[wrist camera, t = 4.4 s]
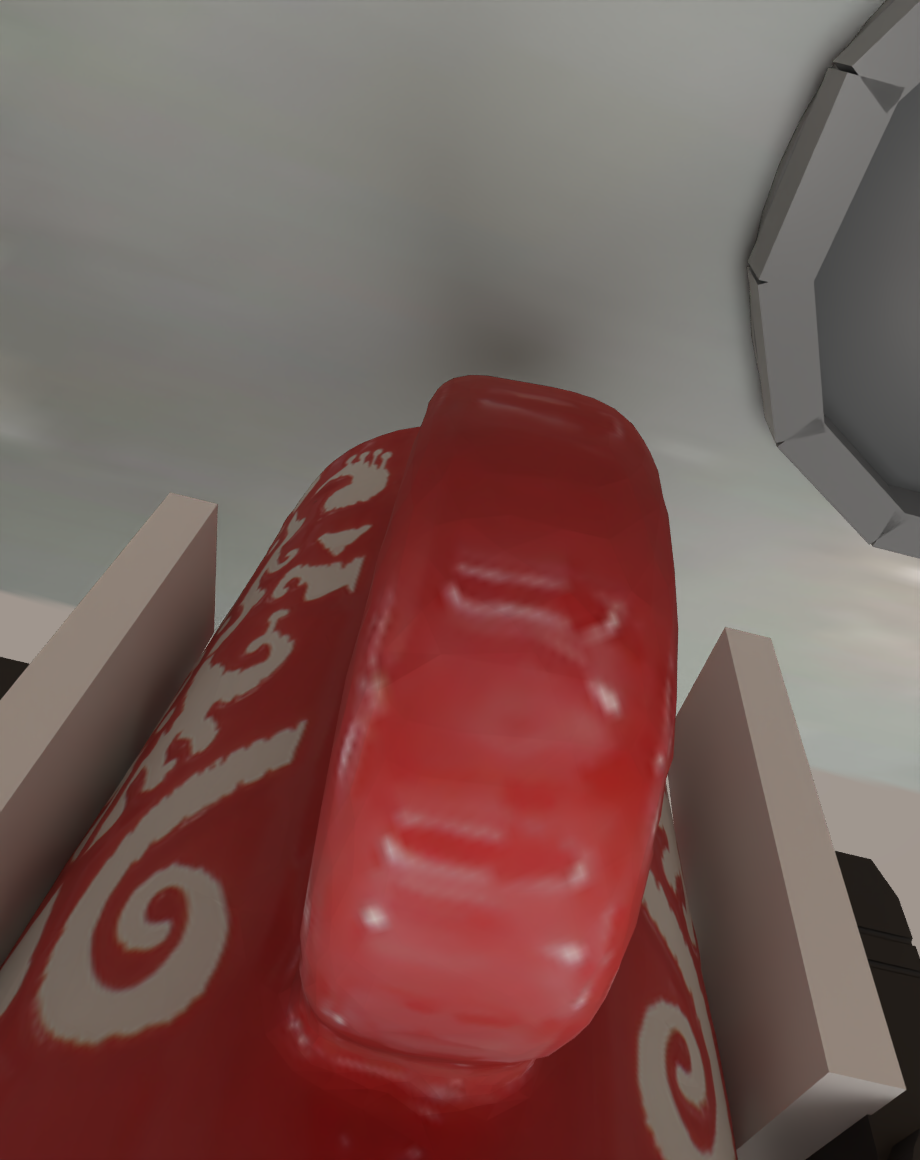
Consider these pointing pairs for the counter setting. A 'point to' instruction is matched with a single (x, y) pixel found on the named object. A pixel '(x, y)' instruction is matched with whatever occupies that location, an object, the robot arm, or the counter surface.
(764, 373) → the tray
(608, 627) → the mug
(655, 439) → the counter surface
